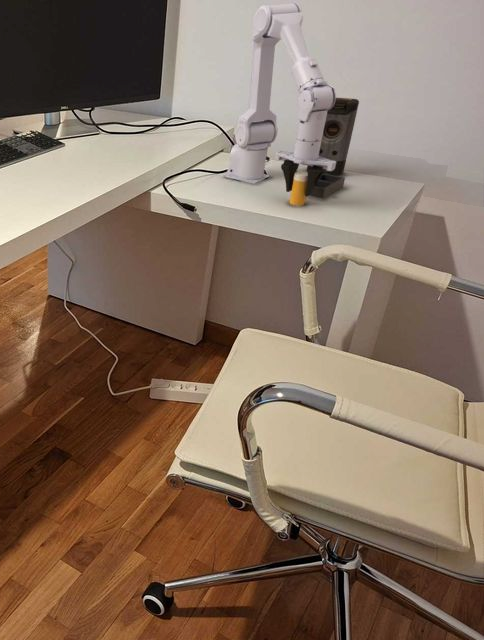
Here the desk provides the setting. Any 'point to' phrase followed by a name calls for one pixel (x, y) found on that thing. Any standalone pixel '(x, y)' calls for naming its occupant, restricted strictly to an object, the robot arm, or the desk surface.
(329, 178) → the organizer
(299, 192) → the pill bottle
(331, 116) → the electronic device
